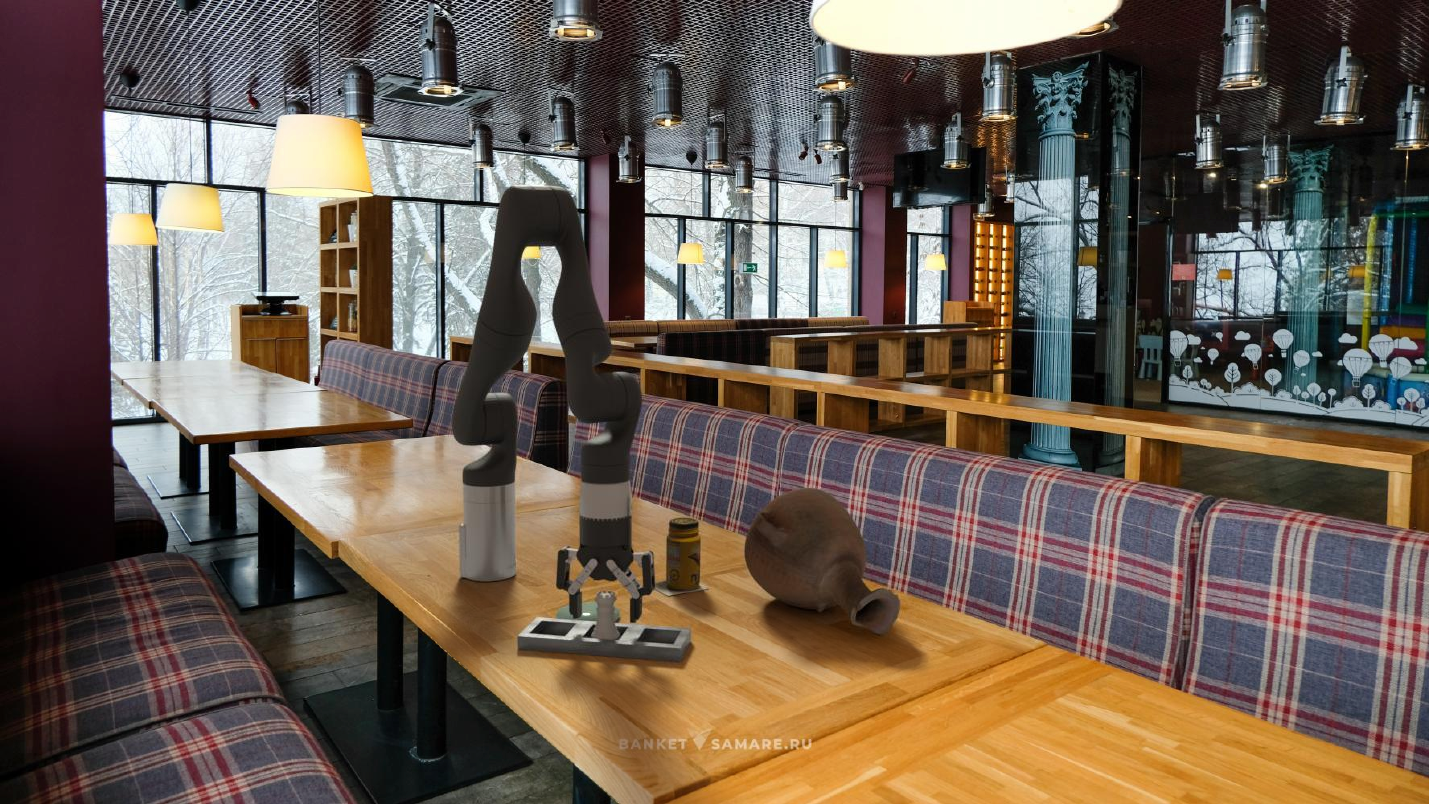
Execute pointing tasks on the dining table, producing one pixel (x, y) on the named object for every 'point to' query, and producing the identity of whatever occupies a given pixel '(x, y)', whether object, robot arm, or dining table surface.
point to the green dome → (584, 612)
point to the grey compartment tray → (625, 647)
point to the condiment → (682, 558)
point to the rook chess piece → (605, 617)
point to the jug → (816, 558)
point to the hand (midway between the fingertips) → (605, 619)
